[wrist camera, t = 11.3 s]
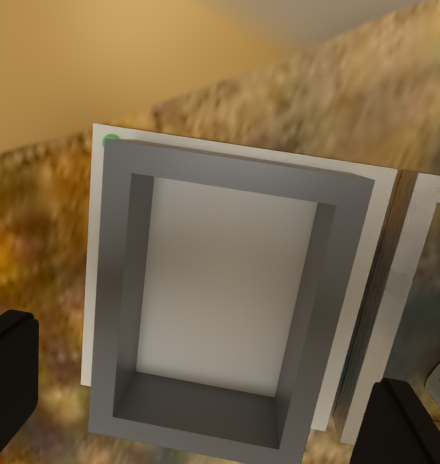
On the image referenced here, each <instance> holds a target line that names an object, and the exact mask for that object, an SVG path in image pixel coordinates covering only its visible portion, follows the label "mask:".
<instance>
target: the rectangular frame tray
mask: <svg viewBox="0 0 440 464" xmlns="http://www.w3.org/2000/svg"><path fill="white" fill-rule="evenodd" d="M437 202H439V203H440V175H433V174H426V173H420V172H413V171H406V170H402V174H401V177H400V181H399V184H398V188H397V191H396V195H395V199H394V202H393V206H392V209H391V213H390V216H389V220H388V224H387V227H386V231H385V234H384V238H383V241H382V245H381V249H380V252H379V256H378V259H377V263H376V266H375V270H374V274H373V277H372V281H371V284H370V288H369V291H368V295H367V299H366V302H365V306H364V309H363V313H362V316H361V320H360V324H359V327H358V331H357V334H356V338H355V341H354V345H353V349H352V352H351V356H350V359H349V363H348V366H347V370H346V374H345V377H344V381H343V384H342V388H341V391H340V395H339V399H338V402H337V406H336V409H335V413H334V416H333V420H334V424H335V427H336V431H337V434H338V438H339V441H340V442H341V443H346V444H351V445H355V442H356V439H357V436H358V433H359V429H360V426H361V423H362V420H363V416H364V413H365V410H366V407H367V403H368V400H369V397H370V394H371V390H372V387H373V385H374V383H375V382H380V381H381V380H382V377H383V374H384V371H385V367H386V364H387V361H388V358H389V355H390V351H391V348H392V345H393V342H394V339H395V336H396V332H397V329H398V326H399V323H400V320H401V316H402V313H403V310H404V307H405V304H406V300H407V297H408V294H409V291H410V288H411V284H412V281H413V278H414V275H415V272H416V269H417V265H418V262H419V259H420V256H421V253H422V249H423V246H424V243H425V240H426V237H427V233H428V230H429V227H430V224H431V221H432V218H433V214H434V211H435V208H436V205H437ZM434 423H435V425H436V426H437V428H438V429H439V431H440V422H438V421H434Z"/></svg>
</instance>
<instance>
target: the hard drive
mask: <svg viewBox="0 0 440 464" xmlns="http://www.w3.org/2000/svg"><path fill="white" fill-rule="evenodd" d="M425 388H426V390H427V391H428V392H429V394H430V395H431V397H432V398H433V399H434V401H435V402H436V404H437V405H438V407H439V408H440V363H439V364H438V366H437V367H436V368H435V369H434V371H433V372H432V373H431V374H430V376H429V377H428V379H427V380H426V384H425Z"/></svg>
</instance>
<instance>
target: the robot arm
mask: <svg viewBox="0 0 440 464" xmlns="http://www.w3.org/2000/svg"><path fill="white" fill-rule="evenodd" d="M38 352H39V323H38V320H36V319H34V316H33V314H32V313H29V312H23V311H18V310H8V311H6V312H5V313H3V314H2V315H0V452H1V451H2V450H3V449H4V447H5V446H6V445H7V444H8V443H9V441H10V440H11V439H12V438H13V436H14V435H15V434H16V433H17V432H18V430H19V429H20V428H21V427H22V425H23V424H24V423H25V422H26V421H27V419H28V418H29V417H30V416H31V414H32V413H33V412H34V410H35V408H36V405H37V402H38ZM350 464H440V431H439V429H438V428H437V426H436V425H435V423H434V421H433V420H432V418H431V417H430V415H429V414H428V412H427V411H426V409H425V408H424V406H423V404H422V403H421V401H420V400H419V398H418V397H417V395H416V394H415V392H414V391H413V389H412V388H411V386H410V385H409V383H408V382H405V381H400V380H395V379H390V378H382V380H381V381H380V382H375V383H374V385H373V387H372V390H371V394H370V397H369V400H368V403H367V407H366V410H365V413H364V416H363V420H362V423H361V426H360V429H359V433H358V436H357V439H356V442H355V446H354V449H353V452H352V455H351V459H350Z"/></svg>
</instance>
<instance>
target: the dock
mask: <svg viewBox="0 0 440 464" xmlns="http://www.w3.org/2000/svg"><path fill="white" fill-rule="evenodd" d="M397 170H398V169H392V168H387V167H380V166H373V165H367V164H360V163H354V162H347V161H340V160H334V159H327V158H321V157H314V156H307V155H301V154H294V153H288V152H281V151H274V150H268V149H261V148H254V147H248V146H241V145H235V144H228V143H221V142H215V141H208V140H202V139H195V138H188V137H182V136H175V135H169V134H162V133H155V132H149V131H142V130H136V129H129V128H122V127H116V126H109V125H102V124H93V139H92V160H91V181H90V202H89V223H88V244H87V265H86V286H85V308H84V329H83V350H82V371H81V385H86V386H91V390H90V408H89V426H88V432H92V433H97V434H102V435H107V436H112V437H117V438H122V439H127V440H132V441H137V442H142V443H147V444H152V445H157V446H162V447H167V448H172V449H177V450H182V451H187V452H192V453H197V454H202V455H207V456H212V457H217V458H222V459H227V460H232V461H237V462H242V463H247V464H301V462H302V458H303V455H304V451H305V447H306V443H307V439H308V435H309V432H310V429H315V430H320V431H326V427H327V424H328V420H329V416H330V413H331V409H332V406H333V402H334V398H335V395H336V391H337V388H338V384H339V380H340V377H341V373H342V369H343V366H344V362H345V359H346V355H347V351H348V348H349V344H350V340H351V337H352V333H353V330H354V326H355V322H356V319H357V315H358V312H359V308H360V304H361V301H362V297H363V293H364V290H365V286H366V283H367V279H368V275H369V272H370V268H371V264H372V261H373V257H374V254H375V250H376V246H377V243H378V239H379V236H380V232H381V228H382V225H383V221H384V217H385V214H386V210H387V207H388V203H389V199H390V196H391V192H392V188H393V185H394V181H395V178H396V174H397Z"/></svg>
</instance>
